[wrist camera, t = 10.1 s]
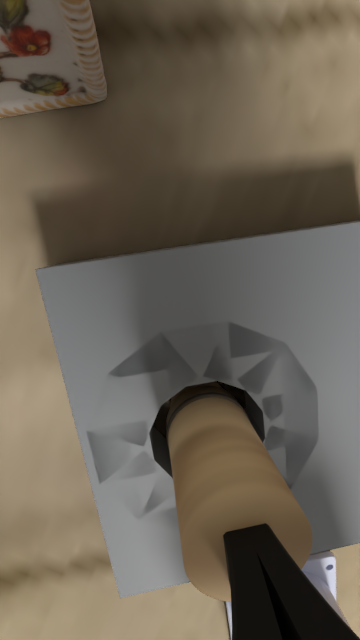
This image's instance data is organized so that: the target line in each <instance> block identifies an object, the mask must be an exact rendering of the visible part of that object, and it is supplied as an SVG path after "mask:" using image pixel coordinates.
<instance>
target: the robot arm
mask: <svg viewBox="0 0 360 640" xmlns="http://www.w3.org/2000/svg"><path fill="white" fill-rule="evenodd" d="M223 540H224V547H225V555H226V563H227V570H228V578H229V584H230V589H231V602H229V601H226V608H227V615H228V622H229V629H230V637H231V640H360V639H359V637H358V636H357V635H356V634H355V633H354V632H353V631H352V630H351V628H350V626H349V624H348V622H347V620H346V619H345V617H344V615H343V613H342V611H341V609H340V607H339V606H338V604H337V602H336V558H335V556H334V555H333V553H332V552H329V551H326V552H322V553H317V554H313V555H309V557H308V559H307V561H306V563H305V565H304V566H303V568H302V569H300V568H299V567H298V565H297V564H296V563H295V561H294V560H293V559H292V557H291V556H290V555H289V553H288V552H287V551H286V549H285V548H284V546H283V545H282V544H281V542H280V541H279V539H278V538H277V537H276V535H275V534H274V532H273V531H272V529H271V528H270V526H269V525H268V524H266V523H264V524H260V525H255V526H251V527H246V528H242V529H237V530H232V531H228V532H226V533H225V534H224V535H223Z"/></svg>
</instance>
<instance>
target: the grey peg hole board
mask: <svg viewBox="0 0 360 640" xmlns="http://www.w3.org/2000/svg"><path fill="white" fill-rule="evenodd" d="M35 270H36V274H37V278H38V282H39V286H40V289H41V293H42V297H43V301H44V305H45V309H46V313H47V317H48V320H49V324H50V328H51V332H52V336H53V340H54V344H55V348H56V351H57V355H58V359H59V363H60V367H61V371H62V375H63V379H64V382H65V386H66V390H67V394H68V398H69V402H70V406H71V410H72V413H73V417H74V421H75V425H76V429H77V433H78V437H79V441H80V444H81V448H82V452H83V456H84V460H85V464H86V468H87V472H88V475H89V479H90V483H91V487H92V491H93V495H94V499H95V503H96V506H97V510H98V514H99V518H100V522H101V526H102V530H103V534H104V537H105V541H106V545H107V549H108V553H109V557H110V561H111V565H112V569H113V572H114V576H115V580H116V584H117V588H118V592H119V596H120V598H123V597H128V596H132V595H136V594H141V593H145V592H149V591H154V590H158V589H162V588H167V587H171V586H175V585H180V584H184V583H188V582H190V580H189V579H188V577H187V575H186V572H185V569H184V564H183V556H182V548H181V540H180V532H179V524H178V516H177V508H176V500H175V492H174V483H173V475H172V467H171V459H170V451H169V447H168V443H167V439H166V438H165V437H164V436H163V435H162V434H161V433H160V432H159V431H158V430H157V429H156V428H155V427H154V426H153V423H154V421H155V418H156V416H157V413H158V411H159V409H160V406H161V405H163V404H164V403H165V402H167V401H168V400H169V399H171V398H172V397H173V396H174V395H176V394H177V393H178V392H180V391H181V390H182V389H184V388H185V387H187V386H192V385H198V384H203V383H209V382H214V381H219V382H222V383H225V384H228V385H231V386H234V387H237V388H240V389H243V390H244V392H245V403H246V408H245V410H244V411H245V412H246V414H247V416H248V418H249V421H250V423H251V425H252V426H253V428H254V430H255V431H256V433H257V435H258V436H259V438H260V440H261V441H262V443H263V445H264V446H265V448H266V450H267V451H268V453H269V455H270V457H271V458H272V460H273V462H274V463H275V465H276V467H277V468H278V470H279V472H280V473H281V475H282V477H283V478H284V480H285V482H286V483H287V485H288V487H289V489H290V490H291V492H292V494H293V495H294V497H295V499H296V500H297V502H298V504H299V505H300V507H301V509H302V510H303V512H304V514H305V516H306V517H307V519H308V521H309V523H310V526H311V529H312V537H313V540H312V548H311V552H310V554H314V553H319V552H323V551H327V550H332V549H336V548H340V547H345V546H349V545H353V544H358V543H360V220H357V221H350V222H343V223H336V224H329V225H322V226H316V227H309V228H302V229H295V230H288V231H281V232H274V233H268V234H261V235H254V236H247V237H240V238H233V239H226V240H220V241H213V242H206V243H199V244H192V245H185V246H178V247H172V248H165V249H158V250H151V251H144V252H137V253H130V254H124V255H117V256H110V257H103V258H96V259H89V260H82V261H76V262H69V263H62V264H55V265H51V266H47V267H43V268H39V269H35Z"/></svg>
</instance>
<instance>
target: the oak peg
mask: <svg viewBox="0 0 360 640" xmlns="http://www.w3.org/2000/svg"><path fill="white" fill-rule="evenodd" d="M166 426H167V432H166V434H167V443H168V447H169V451H170V459H171V467H172V475H173V483H174V492H175V500H176V508H177V516H178V524H179V532H180V540H181V548H182V556H183V564H184V569H185V572H186V575H187V577H188V579H189V580H190V582H191V583H192V584H193V585H194V586H195V587H196V588H197V589H198V590H199V591H200V592H202V593H203V594H205V595H207V596H209V597H212V598H214V599H218V600H222V601H229V602H231V589H230V584H229V578H228V570H227V563H226V555H225V547H224V540H223V535H224V534H225V533H226V532H228V531H232V530H237V529H242V528H246V527H251V526H255V525H260V524H264V523H266V524H268V525H269V526H270V528H271V529H272V531H273V532H274V534H275V535H276V537H277V538H278V539H279V541H280V542H281V544H282V545H283V546H284V548H285V549H286V551H287V552H288V553H289V555H290V556H291V557H292V559H293V560H294V561H295V563H296V564H297V565H298V567H299V568H300V569H302V568H303V566H304V565H305V563H306V561H307V559H308V557H309V555H310V552H311V548H312V540H313V537H312V529H311V526H310V523H309V521H308V519H307V517H306V516H305V514H304V512H303V510H302V509H301V507H300V505H299V504H298V502H297V500H296V499H295V497H294V495H293V494H292V492H291V490H290V489H289V487H288V485H287V483H286V482H285V480H284V478H283V477H282V475H281V473H280V472H279V470H278V468H277V467H276V465H275V463H274V462H273V460H272V458H271V457H270V455H269V453H268V451H267V450H266V448H265V446H264V445H263V443H262V441H261V440H260V438H259V436H258V435H257V433H256V431H255V430H254V428H253V426H252V425H251V423H250V421H249V418H248V416H247V414H246V412H245V411H244V409H243V408H242V406H241V405H240V404H239V403H238V401H237V400H236V398H235V397H234V396H233V395H232V394H231V393H229V392H228V391H226V390H224V389H222V388H221V386H220V385H219V384H218V383H217V382H216V381H214V382H209V383H203V384H198V385H192V386H187V387H185V388H184V389H182V390H181V391H180V392H178V393H177V394H176V395H174V396H173V397H172V398H171V408H170V409H169V412H168V415H167V421H166Z"/></svg>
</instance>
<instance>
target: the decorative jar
mask: <svg viewBox="0 0 360 640" xmlns="http://www.w3.org/2000/svg"><path fill="white" fill-rule="evenodd" d="M106 97H107V84H106V80H105V75H104V70H103V64H102V59H101V53H100V48H99V44H98V39H97V32H96V29H95V23H94V19H93V14H92V9H91V5H90V1H89V0H0V118H4V117H11V116H17V115H23V114H28V113H34V112H41V111H46V110H53V109H58V108H65V107H71V106H80V105H86V104H93V103H97V102H100V101H102V100H104V99H106Z"/></svg>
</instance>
